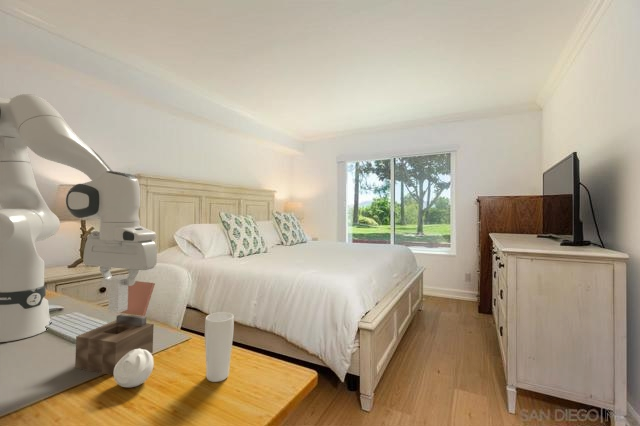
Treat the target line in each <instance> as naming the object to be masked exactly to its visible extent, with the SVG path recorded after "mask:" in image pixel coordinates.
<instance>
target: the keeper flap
mask: <svg viewBox="0 0 640 426" xmlns="http://www.w3.org/2000/svg"><path fill="white" fill-rule="evenodd" d="M155 285H156V283H155V282H149V281H148V282H146V281H138V280H135V283H134V285H131V286H128V310H125V311H123V312H120V314H125V315H133V316H140V317H146V314H147V310H148V307H149V305H150V304H149V303H150V301H151V297H152V294H153V291H154V288H155Z"/></svg>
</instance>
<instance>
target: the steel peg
mask: <svg viewBox="0 0 640 426" xmlns="http://www.w3.org/2000/svg"><path fill="white" fill-rule="evenodd" d="M128 276H129V274H116V275H111V277H107V278H104V277H103V278H101V287H103V288H104V287H106V288H108V310H107V311H108V312H107V313H112V314H119V313H120V312H123V311H125V310H128V286H126V285H124V283H125V282H124V279H127V278H128ZM135 281H136V280H135ZM135 281H134V283H135ZM120 314H121V313H120Z"/></svg>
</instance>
